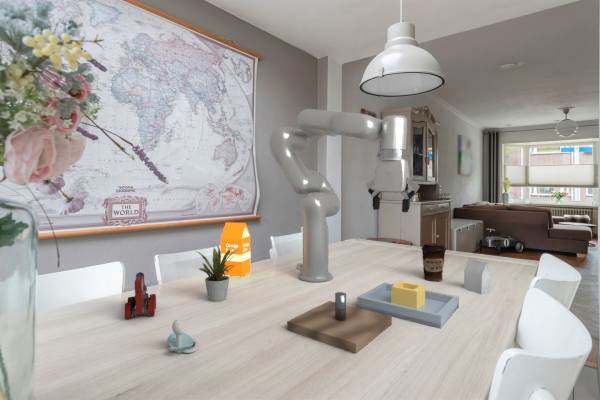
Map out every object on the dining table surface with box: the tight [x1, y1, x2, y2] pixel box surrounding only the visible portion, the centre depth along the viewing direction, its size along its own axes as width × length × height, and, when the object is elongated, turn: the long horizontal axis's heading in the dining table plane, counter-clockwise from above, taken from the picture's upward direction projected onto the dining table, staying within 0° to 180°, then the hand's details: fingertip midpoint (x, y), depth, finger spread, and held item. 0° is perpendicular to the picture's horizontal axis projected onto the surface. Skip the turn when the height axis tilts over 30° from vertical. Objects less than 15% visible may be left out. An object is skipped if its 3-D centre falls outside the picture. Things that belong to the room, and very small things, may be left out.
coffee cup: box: [421, 242, 447, 282], centre depth 120 cm, size 9×8×13 cm
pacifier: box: [166, 319, 200, 354], centre depth 68 cm, size 7×6×6 cm
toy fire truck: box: [123, 271, 157, 320], centre depth 87 cm, size 7×12×10 cm, turn 21°
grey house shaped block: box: [463, 257, 491, 295], centre depth 107 cm, size 4×7×10 cm, turn 20°
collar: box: [391, 280, 426, 309], centre depth 91 cm, size 7×7×5 cm
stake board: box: [286, 300, 393, 354], centre depth 78 cm, size 18×18×2 cm
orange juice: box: [220, 221, 251, 278], centre depth 126 cm, size 8×9×20 cm
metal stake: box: [334, 291, 347, 321], centre depth 78 cm, size 3×3×6 cm
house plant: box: [195, 244, 243, 303], centre depth 97 cm, size 14×14×16 cm
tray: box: [356, 282, 460, 329], centre depth 91 cm, size 22×18×3 cm
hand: (390, 210), depth 104 cm, fingers open, 9 cm apart
